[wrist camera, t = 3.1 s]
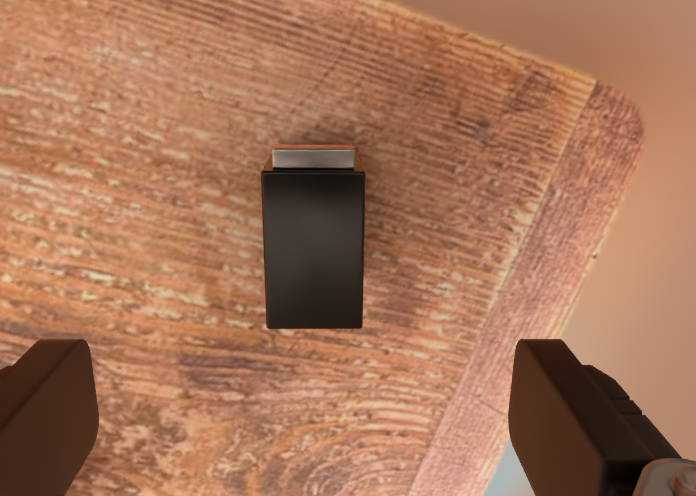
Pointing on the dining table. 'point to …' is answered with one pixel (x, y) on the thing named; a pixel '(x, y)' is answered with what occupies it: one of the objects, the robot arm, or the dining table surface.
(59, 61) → the dining table surface
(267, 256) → the black usb flash drive
